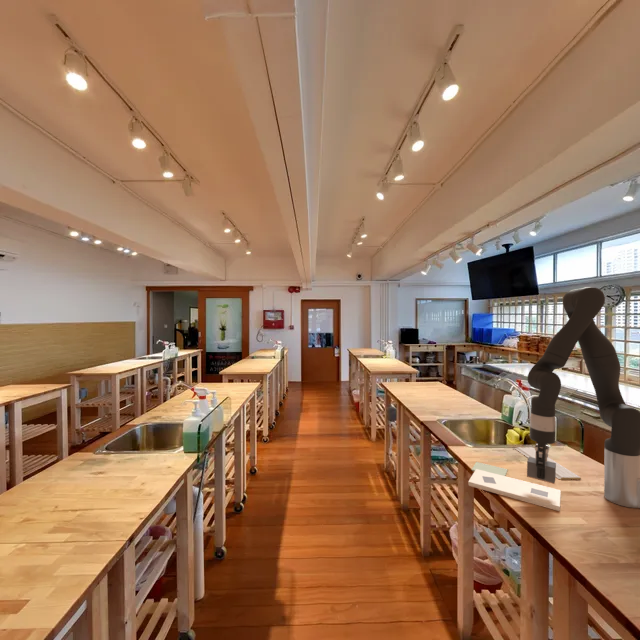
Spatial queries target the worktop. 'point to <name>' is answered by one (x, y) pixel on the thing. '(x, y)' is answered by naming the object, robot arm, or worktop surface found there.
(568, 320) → the robot arm
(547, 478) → the block
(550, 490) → the board
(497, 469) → the rest mat
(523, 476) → the worktop surface
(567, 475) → the baseboard
